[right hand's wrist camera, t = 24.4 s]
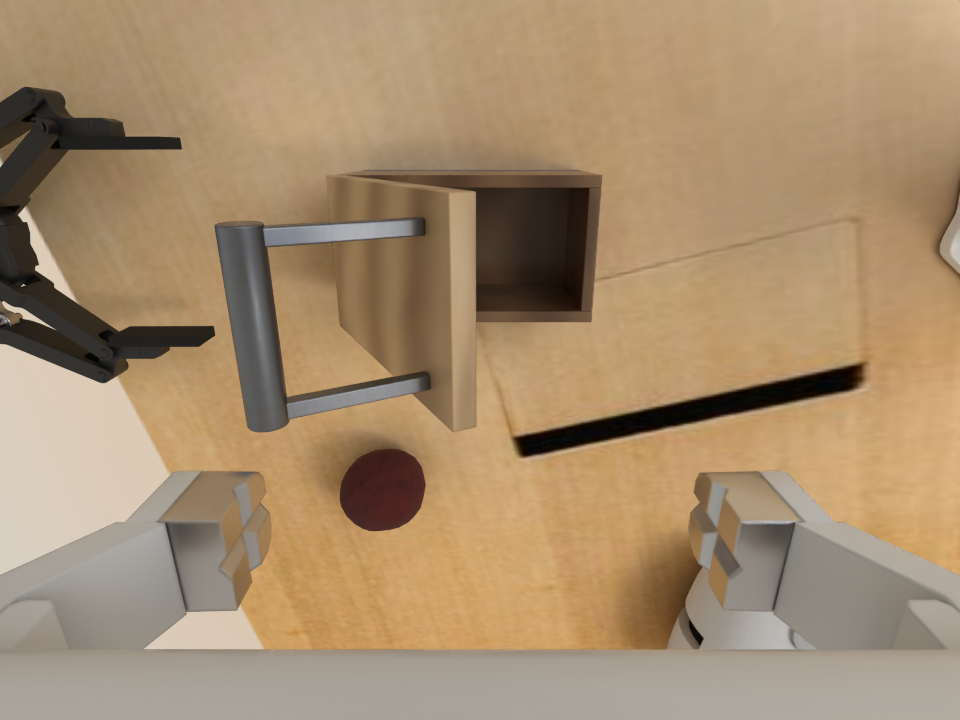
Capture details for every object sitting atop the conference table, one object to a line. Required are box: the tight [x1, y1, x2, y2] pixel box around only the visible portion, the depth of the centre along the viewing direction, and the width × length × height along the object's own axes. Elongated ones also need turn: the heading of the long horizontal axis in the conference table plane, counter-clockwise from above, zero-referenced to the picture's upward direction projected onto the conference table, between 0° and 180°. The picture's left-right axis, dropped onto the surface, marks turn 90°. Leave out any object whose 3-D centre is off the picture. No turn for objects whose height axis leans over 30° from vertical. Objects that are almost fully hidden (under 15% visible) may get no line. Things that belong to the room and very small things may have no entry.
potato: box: [340, 449, 426, 531], centre depth 50 cm, size 7×8×7 cm
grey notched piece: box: [667, 567, 816, 649], centre depth 52 cm, size 22×23×15 cm
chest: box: [341, 170, 602, 322], centre depth 41 cm, size 17×10×9 cm, turn 90°
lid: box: [215, 175, 476, 432], centre depth 27 cm, size 18×10×9 cm
